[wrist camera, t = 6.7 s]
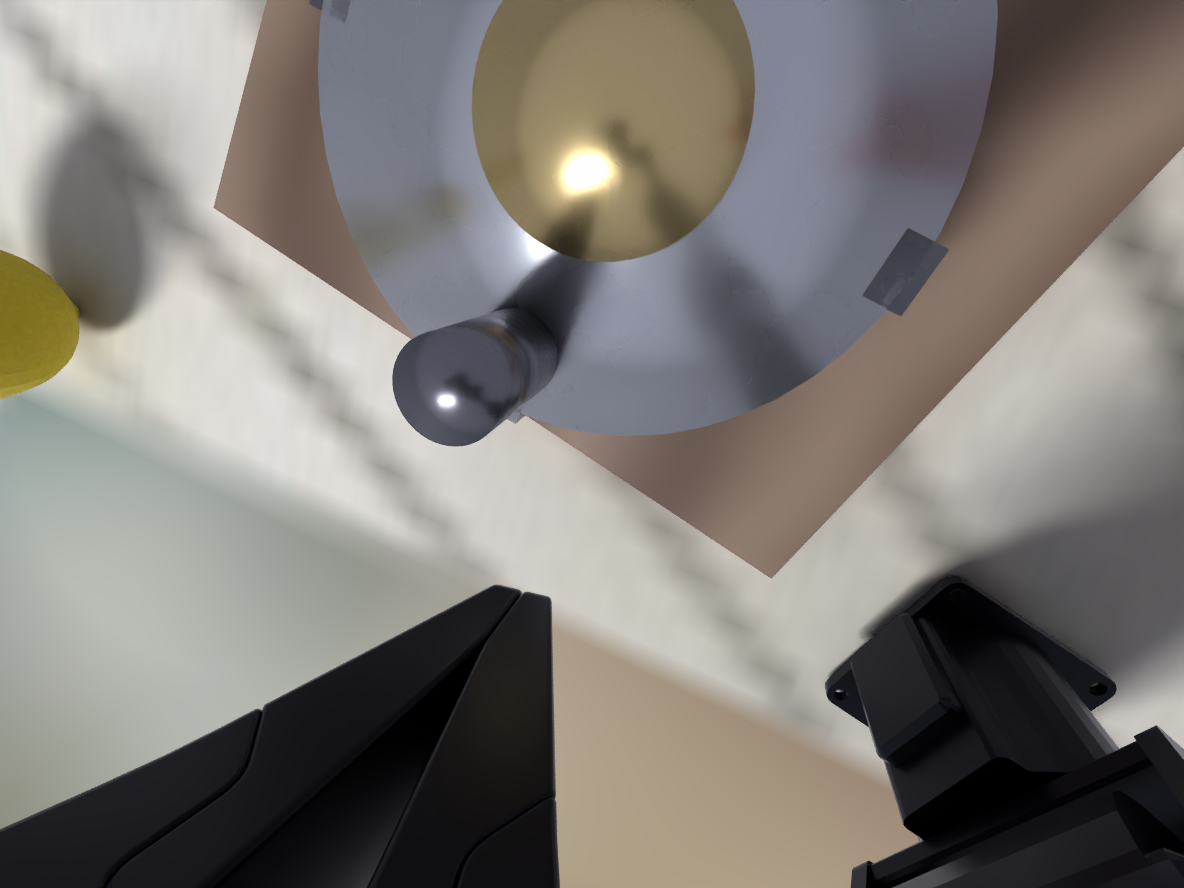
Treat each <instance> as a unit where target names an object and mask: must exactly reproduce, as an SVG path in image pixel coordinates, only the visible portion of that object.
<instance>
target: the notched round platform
mask: <svg viewBox="0 0 1184 888" xmlns="http://www.w3.org/2000/svg"><path fill="white" fill-rule="evenodd" d="M309 4H310V5H312V6H314V7H316V8H317V9H319V10H321V11H322V12H321V19H320V36H319V54H318V81H319V102H320V116H321V123H322V130H323V137H324V143H325V150H326V157H327V161H328V165H329V169H330V173H331V176H332V180H333V184H334V188H335V192H336V196H337V199H338V202H339V205H340V208H341V210H342V213H343V216H344V219H345V221H346V224H347V227H348V230H349V233H350V235H351V238H352V240H353V242H354V244H355V246H356V248H357V250H358V252H359V254H360V256H361V258H362V260H363V262H364V264H365V266H366V268H367V271H368V272H369V274H370V276H371V277H372V279H373V281H374V282H375V284H376V285H377V287H378V289H379V290H380V292H381V293H382V295H383V297H384V298H385V300H386V301H387V303H388V305H389V306H390V307H391V308H392V310H393V311H394V312H395V313H396V315H397V316H398V317H399V319H400V320H401V321H402V322H403V324H404V325H405V326H406V327H407V329H408V330H409V331H410V333H411V334H412V335H413V336H414V337H415V338H413V339H412V340H410V341H409V342H408V343H407V344H406V345H405V346H404V347H403V349H402V350H401V351H400V353H399V355H398V357H397V359H396V362H395V365H394V369H393V391H394V395H395V399H396V402H397V404H398V407H399V409H400V411H401V413H402V414H403V416H404V417H405V419H406V420H407V421H408V423H409V424H410V425H411V426H412V427H413V428H414V429H415V430H416V431H417V432H419V433H420V434H421V435H423V436H424V437H426V438H427V439H429V440H431V441H433V442H436V443H439V444H442V445H447V446H465V445H469V444H472V443H475V442H477V441H479V440H481V439H482V438H483V437H485V436H486V435H487V434H488V433H490V432H491V431H492V430H493V429H495V428H496V427H497V426H498V425H500V424H501V423H502V422H503V421H504V420H506V419H508V420H510V421H512V422H513V423H515V424H516V423H517V422H518V421H519V420H520V419H521V418H523V417H524V416H528V417H531V418H534V419H537V420H540V421H543V422H546V423H549V424H552V425H555V426H558V427H562V428H567V429H573V430H578V431H583V432H588V433H593V434H605V435H620V436H641V435H659V434H669V433H675V432H680V431H686V430H691V429H697V428H702V427H706V426H709V425H712V424H715V423H718V422H721V421H725V420H728V419H731V418H734V417H737V416H740V415H743V414H745V413H747V412H749V411H751V410H754V409H756V408H758V407H760V406H762V405H765V404H767V403H769V402H771V401H773V400H776V399H778V398H779V397H781V396H783V395H784V394H786V393H787V392H789V391H791V390H792V389H794V388H796V387H797V386H799V385H801V384H802V383H804V382H806V381H807V380H809V379H810V378H812V377H814V376H815V375H816V374H817V373H819V372H820V371H821V370H823V369H824V368H825V367H826V366H828V365H829V364H830V363H831V362H833V361H834V360H835V359H837V358H838V357H839V356H840V355H842V354H843V353H844V352H846V351H847V350H848V349H849V348H850V347H851V346H852V345H853V344H854V343H855V342H856V341H857V340H858V339H859V338H860V337H861V336H862V335H863V334H864V333H865V332H866V331H867V330H868V329H869V328H870V327H871V326H872V325H873V324H874V323H875V322H876V321H877V320H878V319H879V318H880V317H881V316H882V315H883V314H884V313H885V311H886V310H887V311H889V312H892V313H894V314H896V315H899V316H902V315H903V313H904V312H905V311H906V309H907V308H908V306H909V305H910V304H911V302H912V301H913V299H914V298H915V297H916V295H917V294H918V293H919V291H920V290H921V288H922V287H923V286H924V284H925V283H926V281H927V280H928V279H929V277H930V276H931V274H932V273H933V272H934V270H935V269H936V268H937V266H938V265H939V263H940V262H941V261H942V259H943V258H944V256H945V255H946V254H947V252H948V251H949V249H948V248H946V247H944V246H942V245H940V244H938V243H936V242H935V241H936V239H937V237H938V236H939V234H940V232H941V230H942V228H943V226H944V224H945V222H946V220H947V218H948V216H949V213H950V211H951V209H952V207H953V205H954V203H955V201H956V199H957V196H958V194H959V192H960V190H961V188H962V186H963V184H964V181H965V178H966V175H967V172H968V169H969V166H970V163H971V160H972V157H973V154H974V151H975V148H976V145H977V142H978V139H979V136H980V133H981V129H982V125H983V120H984V115H985V110H986V105H987V101H988V96H989V91H990V86H991V81H992V77H993V68H994V56H995V44H996V31H997V19H998V7H997V0H310V1H309Z"/></svg>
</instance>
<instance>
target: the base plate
mask: <svg viewBox="0 0 1184 888" xmlns="http://www.w3.org/2000/svg"><path fill="white" fill-rule="evenodd" d="M309 1H310V0H267V2H266V6H265V10H264V13H263V17H262V21H261V25H260V29H259V33H258V37H257V41H256V45H255V49H254V52H253V56H252V60H251V64H250V68H249V72H248V76H247V80H246V84H245V88H244V92H243V95H242V99H241V103H240V107H239V111H238V115H237V119H236V123H235V127H234V131H233V134H232V138H231V142H230V146H229V150H228V154H227V158H226V162H225V166H224V170H223V173H222V177H221V181H220V185H219V189H218V193H217V197H216V201H215V205H214V208H215V209H216V210H218V211H219V212H221V213H222V214H224V215H225V216H227V217H228V218H230V219H231V220H233V221H234V222H236V223H237V224H239V225H240V226H242V227H243V228H245V229H246V230H248V231H249V232H251V233H252V234H254V235H255V236H257V237H258V238H260V239H261V240H263V241H264V242H266V243H267V244H269V245H270V246H272V247H273V248H275V249H277V250H278V251H280V252H281V253H283V254H284V255H286V256H287V257H289V258H290V259H292V260H293V261H295V262H296V263H298V264H299V265H301V266H302V267H304V268H305V269H307V270H308V271H310V272H311V273H313V274H314V275H316V276H317V277H319V278H320V279H322V280H323V281H325V282H326V283H328V284H329V285H331V286H332V287H334V288H335V289H337V290H338V291H340V292H341V293H343V294H344V295H346V296H347V297H349V298H350V299H352V300H353V301H355V302H356V303H358V304H359V305H361V306H362V307H364V308H365V309H367V310H368V311H370V312H371V313H373V314H374V315H376V316H377V317H379V318H380V319H382V320H383V321H385V322H386V323H388V324H389V325H391V326H392V327H394V328H395V329H397V330H398V331H400V332H401V333H403V334H404V335H406V336H407V337H409V338H410V339H413V338H415V337H414V336H413V335H412V334H411V333H410V331H409V330H408V329H407V327H406V326H405V325H404V324H403V322H402V321H401V320H400V319H399V317H398V316H397V315H396V313H395V312H394V311H393V310H392V308H391V307H390V306H389V305H388V303H387V301H386V300H385V298H384V297H383V295H382V293H381V292H380V290H379V289H378V287H377V285H376V284H375V282H374V281H373V279H372V277H371V276H370V274H369V272H368V271H367V268H366V266H365V264H364V262H363V260H362V258H361V256H360V254H359V252H358V250H357V248H356V246H355V244H354V242H353V240H352V238H351V235H350V233H349V230H348V227H347V224H346V221H345V219H344V216H343V213H342V210H341V208H340V205H339V202H338V199H337V196H336V192H335V188H334V184H333V180H332V176H331V173H330V169H329V165H328V161H327V157H326V150H325V143H324V137H323V130H322V123H321V116H320V102H319V81H318V54H319V36H320V19H321V12H322V11H321V10H319V9H317V8H316V7H314V6H312V5H310V4H309ZM997 7H998V19H997V31H996V44H995V56H994V68H993V77H992V81H991V86H990V91H989V96H988V101H987V105H986V110H985V115H984V120H983V125H982V129H981V133H980V136H979V139H978V142H977V145H976V148H975V151H974V154H973V157H972V160H971V163H970V166H969V169H968V172H967V175H966V178H965V181H964V184H963V186H962V188H961V190H960V192H959V194H958V196H957V199H956V201H955V203H954V205H953V207H952V209H951V211H950V213H949V216H948V218H947V220H946V222H945V224H944V226H943V228H942V230H941V232H940V234H939V236H938V237H937V239H936V241H935V242H936V243H938V244H940V245H942V246H944V247H946V248H948V249H949V251H948V252H947V254H946V255H945V256H944V258H943V259H942V261H941V262H940V263H939V265H938V266H937V268H936V269H935V270H934V272H933V273H932V274H931V276H930V277H929V279H928V280H927V281H926V283H925V284H924V286H923V287H922V288H921V290H920V291H919V293H918V294H917V295H916V297H915V298H914V299H913V301H912V302H911V304H910V305H909V306H908V308H907V309H906V311H905V312H904V313H903V315H902V316H899V315H896V314H894V313H892V312H889V311H887V310H886V311H885V313H884V314H883V315H882V316H881V317H880V318H879V319H878V320H877V321H876V322H875V323H874V324H873V325H872V326H871V327H870V328H869V329H868V330H867V331H866V332H865V333H864V334H863V335H862V336H861V337H860V338H859V339H858V340H857V341H856V342H855V343H854V344H853V345H852V346H851V347H850V348H849V349H848V350H847V351H846V352H844V353H843V354H842V355H840V356H839V357H838V358H837V359H835V360H834V361H833V362H831V363H830V364H829V365H828V366H826V367H825V368H824V369H823V370H821V371H820V372H819V373H817V374H816V375H815V376H814V377H812V378H810V379H809V380H807V381H806V382H804V383H802V384H801V385H799V386H797V387H796V388H794V389H792V390H791V391H789V392H787V393H786V394H784V395H783V396H781V397H779V398H778V399H776V400H773V401H771V402H769V403H767V404H765V405H762V406H760V407H758V408H756V409H754V410H751V411H749V412H747V413H745V414H743V415H740V416H737V417H734V418H731V419H728V420H725V421H721V422H718V423H715V424H712V425H709V426H706V427H702V428H697V429H691V430H686V431H680V432H675V433H669V434H659V435H641V436H620V435H605V434H593V433H588V432H583V431H578V430H573V429H567V428H562V427H558V426H555V425H552V424H549V423H546V422H543V421H540V420H537V419H534V418H531V417H529V418H531V419H532V420H534V421H535V422H537V423H538V424H540V425H541V426H543V427H544V428H546V429H547V430H549V431H550V432H552V433H553V434H555V435H556V436H558V437H559V438H561V439H562V440H564V441H565V442H567V443H568V444H570V445H571V446H573V447H574V448H576V449H577V450H579V451H580V452H582V453H583V454H585V455H586V456H588V457H589V458H591V459H592V460H594V461H595V462H597V463H598V464H600V465H601V466H603V467H604V468H606V469H607V470H609V471H610V472H612V473H613V474H615V475H617V476H618V477H620V478H621V479H623V480H624V481H626V482H627V483H629V484H630V485H632V486H633V487H635V488H636V489H638V490H639V491H641V492H642V493H644V494H645V495H647V496H648V497H650V498H651V499H653V500H654V501H656V502H657V503H659V504H660V505H662V506H663V507H665V508H666V509H668V510H669V511H671V512H672V513H674V514H675V515H677V516H678V517H680V518H681V519H683V520H684V521H686V522H687V523H689V524H690V525H692V526H693V527H695V528H696V529H698V530H699V531H701V532H702V533H704V534H705V535H707V536H708V537H710V538H711V539H713V540H714V541H716V542H717V543H719V544H720V545H722V546H723V547H725V548H726V549H728V550H729V551H731V552H732V553H734V554H735V555H737V556H738V557H740V558H741V559H743V560H744V561H746V562H747V563H749V564H750V565H752V566H753V567H755V568H756V569H758V570H759V571H761V572H762V573H764V574H765V575H767V576H768V577H770V578H772V577H773V576H774V575H775V574H776V573H777V572H778V571H779V570H780V569H781V568H782V567H783V566H784V565H785V564H786V563H787V562H788V561H789V559H790V558H791V557H792V556H793V555H794V554H795V553H796V552H797V551H798V550H799V549H800V548H801V547H802V546H803V545H804V544H805V543H806V542H807V541H808V540H809V539H810V537H811V536H812V535H813V534H814V533H815V532H816V531H817V530H818V529H819V528H820V527H821V526H822V525H823V524H824V523H825V522H826V521H827V520H828V519H829V518H830V517H831V515H832V514H833V513H834V512H835V511H836V510H837V509H838V508H839V507H840V506H841V505H842V504H843V503H844V502H845V501H846V500H847V499H848V498H849V497H850V496H851V495H852V493H853V492H854V491H855V490H856V489H857V488H858V487H859V486H860V485H861V484H862V483H863V482H864V481H865V480H866V479H867V478H868V477H869V476H870V475H871V474H872V473H873V471H874V470H875V469H876V468H877V467H878V466H879V465H880V464H881V463H882V462H883V461H884V460H885V459H886V458H887V457H888V456H889V455H890V454H891V453H892V452H893V451H894V449H895V448H896V447H897V446H898V445H899V444H900V443H901V442H902V441H903V440H904V439H905V438H906V437H907V436H908V435H909V434H910V433H911V432H912V431H913V430H914V429H915V427H916V426H917V425H918V424H919V423H920V422H921V421H922V420H923V419H924V418H925V417H926V416H927V415H928V414H929V413H930V412H931V411H932V410H933V409H934V408H935V407H936V405H937V404H938V403H939V402H940V401H941V400H942V399H943V398H944V397H945V396H946V395H947V394H948V393H949V392H950V391H951V390H952V389H953V388H954V387H955V386H956V385H957V383H958V382H959V381H960V380H961V379H962V378H963V377H964V376H965V375H966V374H967V373H968V372H969V371H970V370H971V369H972V368H973V367H974V366H975V365H976V364H977V363H978V361H979V360H980V359H981V358H982V357H983V356H984V355H985V354H986V353H987V352H988V351H989V350H990V349H991V348H992V347H993V346H994V345H995V344H996V343H997V342H998V341H999V340H1000V338H1001V337H1002V336H1003V335H1004V334H1005V333H1006V332H1007V331H1008V330H1009V329H1010V328H1011V327H1012V326H1013V325H1014V324H1015V323H1016V322H1017V321H1018V320H1019V319H1020V318H1021V316H1022V315H1023V314H1024V313H1025V312H1026V311H1027V310H1028V309H1029V308H1030V307H1031V306H1032V305H1033V304H1034V303H1035V302H1036V301H1037V300H1038V299H1039V298H1040V297H1041V296H1042V294H1043V293H1044V292H1045V291H1046V290H1047V289H1048V288H1049V287H1050V286H1051V285H1052V284H1053V283H1054V282H1055V281H1056V280H1057V279H1058V278H1059V277H1060V276H1061V275H1062V274H1063V272H1064V271H1065V270H1066V269H1067V268H1068V267H1069V266H1070V265H1071V264H1072V263H1073V262H1074V261H1075V260H1076V259H1077V258H1078V257H1079V256H1080V255H1081V254H1082V253H1083V252H1084V250H1085V249H1086V248H1087V247H1088V246H1089V245H1090V244H1091V243H1092V242H1093V241H1094V240H1095V239H1096V238H1097V237H1098V236H1099V235H1100V234H1101V233H1102V232H1103V231H1104V230H1105V228H1106V227H1107V226H1108V225H1109V224H1110V223H1111V222H1112V221H1113V220H1114V219H1115V218H1116V217H1117V216H1118V215H1119V214H1120V213H1121V212H1122V211H1123V210H1124V209H1125V208H1126V206H1127V205H1128V204H1129V203H1130V202H1131V201H1132V200H1133V199H1134V198H1135V197H1136V196H1137V195H1138V194H1139V193H1140V192H1141V191H1142V190H1143V189H1144V188H1145V187H1146V186H1147V184H1148V183H1149V182H1150V181H1151V180H1152V179H1153V178H1154V177H1155V176H1156V175H1157V174H1158V173H1159V172H1160V171H1161V170H1162V169H1163V168H1164V167H1165V166H1166V165H1167V164H1168V162H1169V161H1170V160H1171V159H1172V158H1173V157H1174V156H1175V155H1176V154H1177V153H1178V152H1179V151H1180V150H1181V149H1182V148H1183V147H1184V0H997Z"/></svg>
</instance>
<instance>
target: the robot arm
mask: <svg viewBox="0 0 1184 888" xmlns="http://www.w3.org/2000/svg"><path fill="white" fill-rule="evenodd" d="M955 589H961V592H960V593H959V594H957V595H952V596H951V595H949V594H950V592H951V591H953V590H955ZM1095 683H1098V685H1096V686H1093V687H1090V686H1091V685H1093V684H1095ZM838 689H843V690H845V691H843V692H836V690H838ZM825 690H826V694H827V697H828V699H829V700H830V701H831V702H832V703H833V704H835V705H836V706H838V707H839V708H841V709H842V710H844V711H845V712H847V713H848V714H850V715H851V716H853V717H854V718H856V719H857V720H859V721H860V722H862V723H863V724H865V725H866V726H868V727H869V728H870V732H871V735H872V738H873V742H874V745H875V748H876V752H877V754H878V756H879V757H880V758H881V759H883V760H884V763H885V766H886V769H887V773H888V776H889V779H890V782H891V786H892V789H893V792H894V795H895V799H896V802H897V805H898V808H899V812H900V815H901V818H902V822H903V825H904V826H905V827H906V828H907V829H908V830H910V831H911V832H913V833H914V834H916V835H917V836H918V839H919V843H916V844H914V845H912V846H910V847H908V848H906V849H904V850H901V851H899V852H897V853H895V854H893V855H891V856H888V857H886V858H884V859H882V860H880V861H878V862H876V863H872V862H870V861H867V862H865V863H863V864H861V865H859V866H857V867H855V868H853V870H852V880H851V888H1184V749H1183V748H1182V747H1180V746H1179V745H1178V744H1177V743H1176V742H1175V741H1174V740H1173V739H1172V738H1171V737H1169V736H1168V735H1167V734H1166V733H1165V732H1164V731H1163V730H1162V729H1161V728H1159V727H1158V726H1157V725H1156V726H1154V727H1152V728H1150V729H1148V730H1146V731H1144V732H1142V733H1139V734H1137V735H1135V736H1134V738H1135V739H1136V741H1135V742H1133V743H1131V744H1129V745H1127V746H1125V747H1122V748H1120V749H1119V748H1118V746H1117V745H1116V744H1115V742H1114V741H1113V740H1112V739H1111V737H1110V736H1109V735H1108V733H1107V732H1106V731H1105V730H1104V728H1103V727H1102V726H1101V724H1100V723H1099V722H1098V721H1097V719H1096V718H1095V717H1094V715H1093V714H1092V713H1091V712H1090V711H1092V710H1093V709H1095V708H1096V707H1098V706H1100V705H1101V704H1103V703H1104V702H1106V701H1107V700H1109V699H1110V698H1111V697H1112V696H1113V695H1114V694H1115V693H1116V690H1117V688H1116V684H1115V683H1114V682H1113V681H1112V680H1111V679H1110V677H1109V676H1108V675H1107V674H1106V673H1105V672H1104V671H1102V670H1101V669H1099V668H1098V667H1096V666H1095V665H1093V664H1092V663H1090V662H1089V661H1087V660H1086V659H1084V658H1083V657H1081V656H1080V655H1078V654H1077V653H1075V652H1074V651H1072V650H1071V649H1069V648H1068V647H1066V646H1065V645H1063V644H1062V643H1060V642H1059V641H1057V640H1056V639H1054V638H1053V637H1051V636H1050V635H1048V634H1047V633H1045V632H1044V631H1042V630H1041V629H1039V628H1038V627H1036V626H1035V625H1033V624H1032V623H1030V622H1029V621H1027V620H1026V619H1024V618H1023V617H1021V616H1020V615H1018V614H1017V613H1015V612H1014V611H1012V610H1011V609H1009V608H1008V607H1006V606H1005V605H1003V604H1002V603H1000V602H999V601H997V600H996V599H994V598H993V597H991V596H990V595H988V594H987V593H985V592H984V591H982V590H981V589H979V588H978V587H976V586H975V585H973V584H972V583H970V582H969V581H967V580H966V579H964V578H961V577H959V576H950V577H946V578H944V579H942V580H941V581H939V582H938V583H937V584H936V585H935V586H934V587H933V588H931V589H930V590H929V591H928V592H927V593H926V594H925V595H923V596H922V597H921V598H920V599H919V600H918V601H917V602H916V603H914V604H913V605H912V606H911V607H910V608H909V609H908V610H906V611H905V612H904V613H903V614H900V615H898V616H897V617H896V618H894V619H893V620H892V621H891V622H890V623H889V624H888V625H887V626H885V627H884V628H883V629H882V630H881V631H880V632H879V633H877V634H876V635H875V636H874V637H873V638H872V639H871V640H869V641H868V642H867V643H866V644H865V645H864V646H863V647H862V648H860V649H859V650H858V651H857V652H856V653H855V654H854V655H852V656H851V658H850V661H848V662H847V663H846V664H845V665H844V666H843V667H842V668H840V669H839V670H838V671H837V672H836V673H835V674H834V675H832V676H831V677H830V678H829V679H828V680H827V681H826V683H825ZM555 786H556V785H555V740H554V694H553V647H552V603H551V599H550V598H549V597H548V596H544V595H539V594H535V593H531V592H524V593H523V594H522V592H521V591H520V590H518V589H515V588H510V587H506V586H502V585H493V586H491V587H489V588H487V589H485V590H483V591H481V592H479V593H477V594H475V595H474V596H472V597H470V598H468V599H466V600H464V601H462V602H460V603H458V604H456V605H454V606H452V607H450V608H449V609H447V610H445V611H443V612H441V613H439V614H437V615H435V616H433V617H431V618H429V619H428V620H426V621H424V622H422V623H420V624H418V625H416V626H414V627H412V628H410V629H408V630H407V631H405V632H403V633H401V634H399V635H397V636H395V637H393V638H391V639H389V640H387V641H385V642H384V643H382V644H380V645H378V646H376V647H374V648H372V649H370V650H368V651H366V652H365V653H363V654H361V655H359V656H357V657H355V658H353V659H351V660H349V661H347V662H346V663H343V664H342V665H340V666H338V667H336V668H334V669H332V670H330V671H328V672H326V673H324V674H322V675H321V676H319V677H317V678H315V679H313V680H311V681H309V682H307V683H305V684H303V685H301V686H299V687H298V688H296V689H294V690H292V691H290V692H288V693H286V694H284V695H282V696H280V697H279V698H277V699H275V700H273V701H271V702H269V703H267V704H265V705H264V707H263V710H260V709H255V710H253V711H251V712H249V713H248V714H245V715H244V716H242V717H240V718H238V719H236V720H234V721H232V722H230V723H228V724H226V725H225V726H222V727H221V728H218V729H216V730H214V731H212V732H211V733H208V734H206V735H204V736H203V737H200V738H199V739H197V740H194V741H193V742H191V743H189V744H187V745H184V746H183V747H180V748H179V749H177V750H174V751H172V752H171V753H169V754H166V755H164V756H162V757H160V758H158V759H156V760H153V761H151V762H149V763H147V764H145V765H143V766H140V767H138V768H136V769H134V770H132V771H129V772H127V773H126V774H123V775H121V776H119V777H116V778H114V779H112V780H110V781H108V782H106V783H103V784H101V785H99V786H97V787H95V788H92V789H90V790H88V791H85V792H84V793H81V794H79V795H77V796H74V797H72V798H70V799H67V800H65V801H63V802H61V803H58V804H56V805H54V806H52V807H49V808H47V809H45V810H43V811H40V812H38V813H36V814H34V815H31V816H29V817H27V818H24V819H22V820H20V821H18V822H15V823H13V824H11V825H9V826H7V827H4V828H2V829H0V888H560V880H559V863H558V846H557V815H556V801H555V796H556V787H555Z"/></svg>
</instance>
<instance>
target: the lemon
mask: <svg viewBox="0 0 1184 888" xmlns="http://www.w3.org/2000/svg"><path fill="white" fill-rule="evenodd" d="M79 316H80V312H79V309H78V307H77V306H76V305H75V304H74V303H72V302H71V300H70V299H69V297H68V296H67V295H66V293H65V292H64V291H63V289H62V288H61V287H60V286H59V285H58V284H57V283H56V282H55V281H54V280H53V279H52V278H51V277H50V276H49V275H47V274H46V273H45V272H43V271H42V270H40V269H39V268H38V267H36V266H35V265H33V264H31V263H30V262H28V261H26V260H24V259H22V258H20V257H17V256H15V255H13V254H10V253H7V252H5V251H2V250H0V399H2V398H5V397H9V396H12V395H15V394H18V393H20V392H23V391H25V390H28V389H30V388H33V387H35V386H38V385H40V384H42V383H44V382H46V381H47V380H49V379H50V378H52V377H53V376H55V375H56V374H57V373H58V372H59V371H60V370H61V369H62V368H63V367H64V366H65V365H66V364H67V363H68V362H69V360H70V359H71V357H72V356H73V353H74V351H75V349H76V346H77V344H78V339H79V323H78V318H79Z"/></svg>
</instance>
